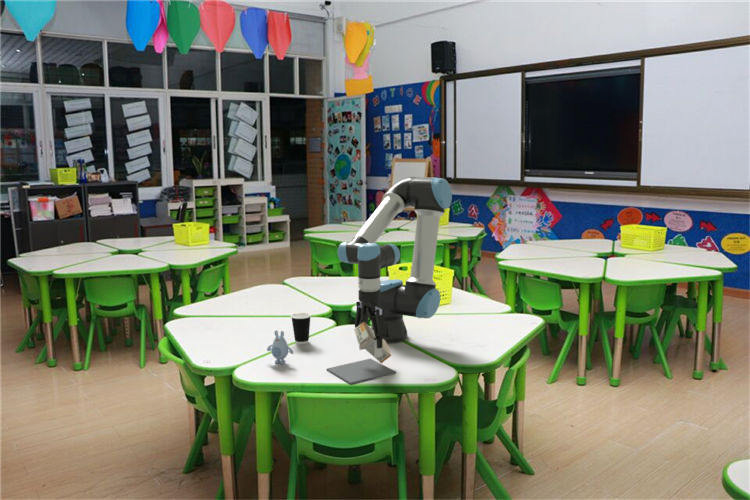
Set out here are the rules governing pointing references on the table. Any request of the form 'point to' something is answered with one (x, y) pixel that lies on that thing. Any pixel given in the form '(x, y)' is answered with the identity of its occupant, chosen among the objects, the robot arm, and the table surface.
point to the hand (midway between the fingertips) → (370, 352)
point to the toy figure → (279, 348)
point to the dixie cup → (301, 327)
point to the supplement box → (370, 341)
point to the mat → (360, 371)
